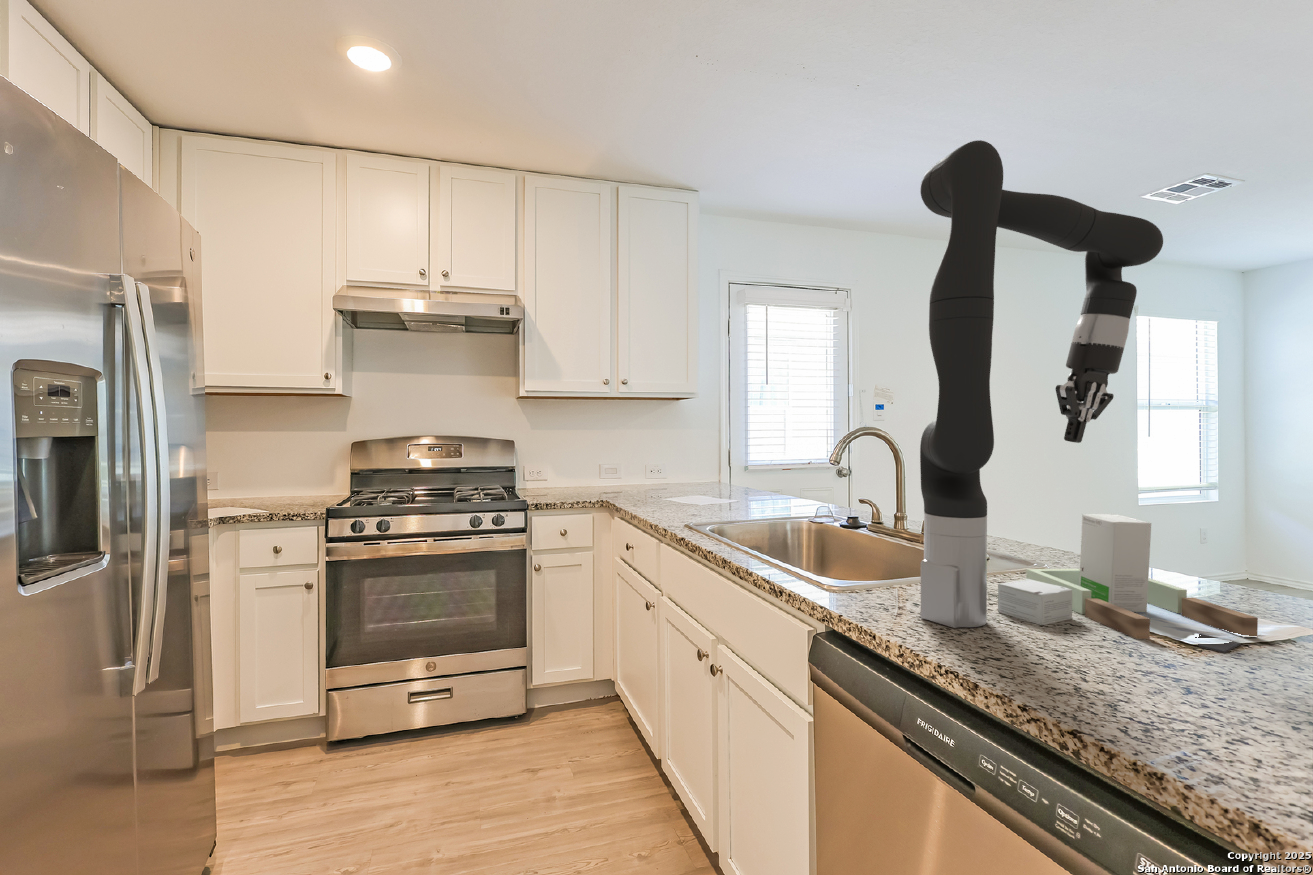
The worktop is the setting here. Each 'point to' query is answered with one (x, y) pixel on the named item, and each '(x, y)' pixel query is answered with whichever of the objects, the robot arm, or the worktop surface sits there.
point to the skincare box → (1116, 559)
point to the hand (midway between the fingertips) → (1072, 441)
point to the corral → (1069, 578)
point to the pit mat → (1218, 645)
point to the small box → (1035, 601)
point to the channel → (1191, 608)
